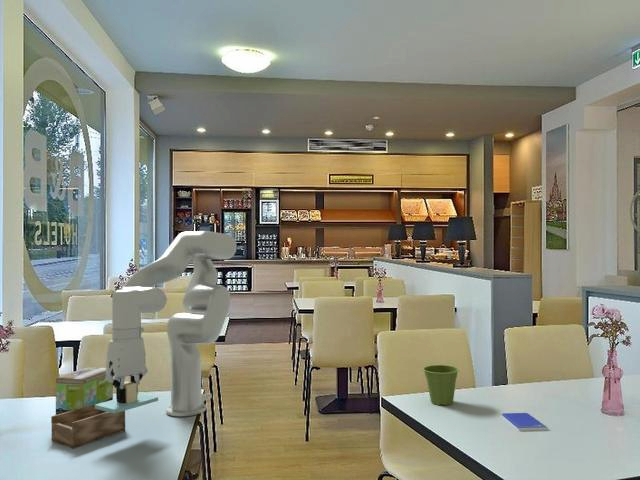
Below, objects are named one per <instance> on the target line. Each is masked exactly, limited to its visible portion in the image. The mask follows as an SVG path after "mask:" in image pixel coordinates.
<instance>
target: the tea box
mask: <svg viewBox="0 0 640 480" xmlns="http://www.w3.org/2000/svg"><path fill="white" fill-rule="evenodd" d="M105 377H106V367H94V366H93V367H91V366H89V367H88V366H86V367H84V368H81V369H78V370H75V371H71V372H69V373H66V374H63V375H59V376H57V377H56V378H55V379H56V380H55V415H58V414H62V413H65V412H69V411H72V410H76V409H79V408H83V407H86V406H90V405H93V404H97V403H101V402H107V401H110V400H114V386H113V385H112V384H111V383H109V382H106V381H105Z"/></svg>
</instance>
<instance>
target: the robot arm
mask: <svg viewBox="0 0 640 480" xmlns="http://www.w3.org/2000/svg"><path fill="white" fill-rule="evenodd" d="M236 252H237V241H236V240H235V238H234V237H233V235H231V234H228V233H222V232H215V231H209V230H197V231H196V230H195V231H194V230H193V231H191V230H190V231H182V232H180V233H179V234H177V236H175V238H174V239H173V240H172V242H171V243H169V245H168V247H167V248H166V249H165V251H164V252H162V254H161V255H160V256H159V258H157V260H154V261H153V262H150V263H149V264H148V265H145V266H144V267H142V268H140V269H139V270H137V271H135V272H134V273H133V274H132V275H131V276H130V277H129V278H128V279H127V281H126V282H125V283H124V284H123V286H121V289H117V290H115V291H114V292H113V293H112V296H111V297H112V301H111V302H112V303H111V305H112V306H111V307H112V313H111V315H112V317H111V319H112V320H111V321H112V323H111V324H112V325H111V327H112V329H111V331H112V335H111V337H112V339H111V340H109V342H108V346H107V350H106V351H107V352H106V362H105V368H106V377H105V381H106V382H109V383H111V384H112V385H113V388H115V389H116V390H115V391H116V392H115V393H116V394H115V396H116V397H115V399H117V402H119V403H125V402H126V388H124V382H126V380H125V379H126V377H129V382H133V383H137V395H138V393H139V392H138V391H139V389H138V386H139V385H140V384H141V382H140V381H141V380H142V379H143V377H144V376H145V375H146V374H147V373H148V372H149V370H148V368H147V366H146V365H147V364H146V363H147V358H146V349H145V348H146V347H145V342H144V338H143V337H142V333H144V331H145V328H144V327H142V314H155V313H158V312H160V311H162V310H163V309H164V308H165V306H166V304H167V300H168V299H167V294H166V293H165V291H164V290H162V289H161V288H159V287H155V286H159V285H161V284H164V283H165V284H166V283H168V282H171V281H174V280H176V279H178V278H180V277H181V276H183V273H184V272H185V270H186V269H187V267H188V266H189V265H190V263H191V262H192V264H193V273H192V275H191V278H190V280H189V283H188V286H187V288H186V290H185V292H184V296H183V299H182V307H183V309H185V310H186V311H188V312H179V313H174V314H173V315H171V316H170V318H169V319H168V320H167V323H166V333H167V335H166V336H167V337H168V338H167V339H168V342H169V351H170V353H169V354H170V405H169V406H168V407H166V408H165V409H166V410H165V411H166V412H165V413H166V414H167V415H168V416H172V417H180V418H181V417H189V416H190V417H191V416H196V415H199V414H202V413H205V412H206V410H207V405H206V403H205V401H207V400H211V399H212V398H213V397H212V396H213V395H212V393H211V392H207V393H202V357H201V356H202V355H201V351H200V349H199V346H198V345H197V344H203V345H208V344H213V343H215V342H216V341H217V340H218V338H219V336H220V335H221V332H222V329H223V327H224V324H225V322H226V319H227V315H228V312H229V309H230V307H231V306H230V305H231V294H230V291H229V289H228V288H227V287H226V286H224V285H221V284H217V281H218V276H219V274H218V271H217V268H216V266H215V265H214V264H213V262H212V260H229V259H231V258H233V257H234V256H235V254H236Z"/></svg>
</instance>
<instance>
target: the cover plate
mask: <svg viewBox="0 0 640 480" xmlns="http://www.w3.org/2000/svg"><path fill="white" fill-rule="evenodd" d="M124 388H126V402H125V403H119V402H117V399H116V398H113V400H110V401H107V402H103V403H99V404H96V405H95V409H99V410H103V411H106V412H110V413H114V414H115V413H119V412H122V411H125V412H126V411H127V410H131V409H134V408H138V407H142V406H145V405H149V404H151V403H155V402H158V401H159V396H154V395H150V394H149V395H148V394H144V393H142V392H141V393H139V392H138V395H137V383H133V382H130V381H126V380H125V381H124Z"/></svg>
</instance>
